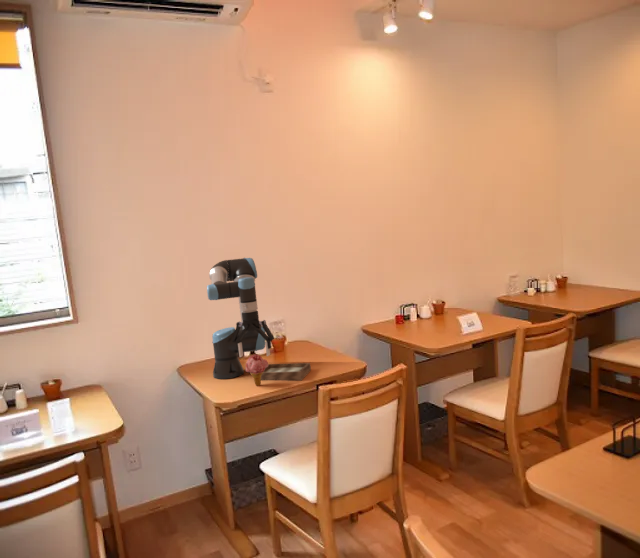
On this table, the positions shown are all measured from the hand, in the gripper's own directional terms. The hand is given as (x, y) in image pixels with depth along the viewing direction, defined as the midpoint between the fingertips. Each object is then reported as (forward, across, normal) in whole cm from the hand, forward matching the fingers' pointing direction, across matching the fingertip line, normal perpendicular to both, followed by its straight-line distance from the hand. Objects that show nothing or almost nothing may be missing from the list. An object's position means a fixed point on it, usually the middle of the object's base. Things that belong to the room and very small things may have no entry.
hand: (254, 356), depth 260 cm
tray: (+14, +8, +16) cm, 23 cm away
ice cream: (+15, 0, 0) cm, 15 cm away
